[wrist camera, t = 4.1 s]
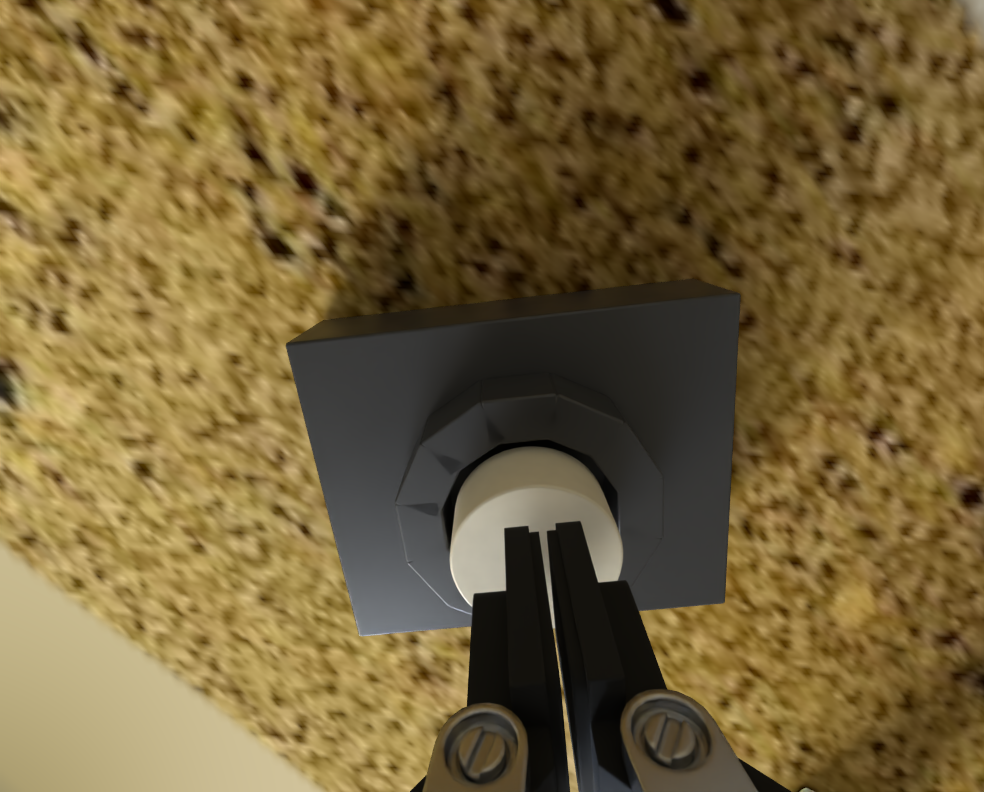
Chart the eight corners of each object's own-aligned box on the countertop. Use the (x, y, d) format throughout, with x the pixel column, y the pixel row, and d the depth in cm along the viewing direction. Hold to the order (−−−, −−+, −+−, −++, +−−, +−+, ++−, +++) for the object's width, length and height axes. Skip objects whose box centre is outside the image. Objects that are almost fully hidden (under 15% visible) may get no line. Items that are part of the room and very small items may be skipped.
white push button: (465, 581, 14) (461, 638, 12) (445, 453, 13) (437, 495, 11) (607, 568, 14) (626, 623, 12) (602, 437, 13) (621, 476, 11)
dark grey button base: (378, 573, 20) (343, 685, 15) (321, 319, 16) (254, 362, 12) (689, 544, 19) (753, 649, 15) (695, 277, 16) (780, 303, 11)
